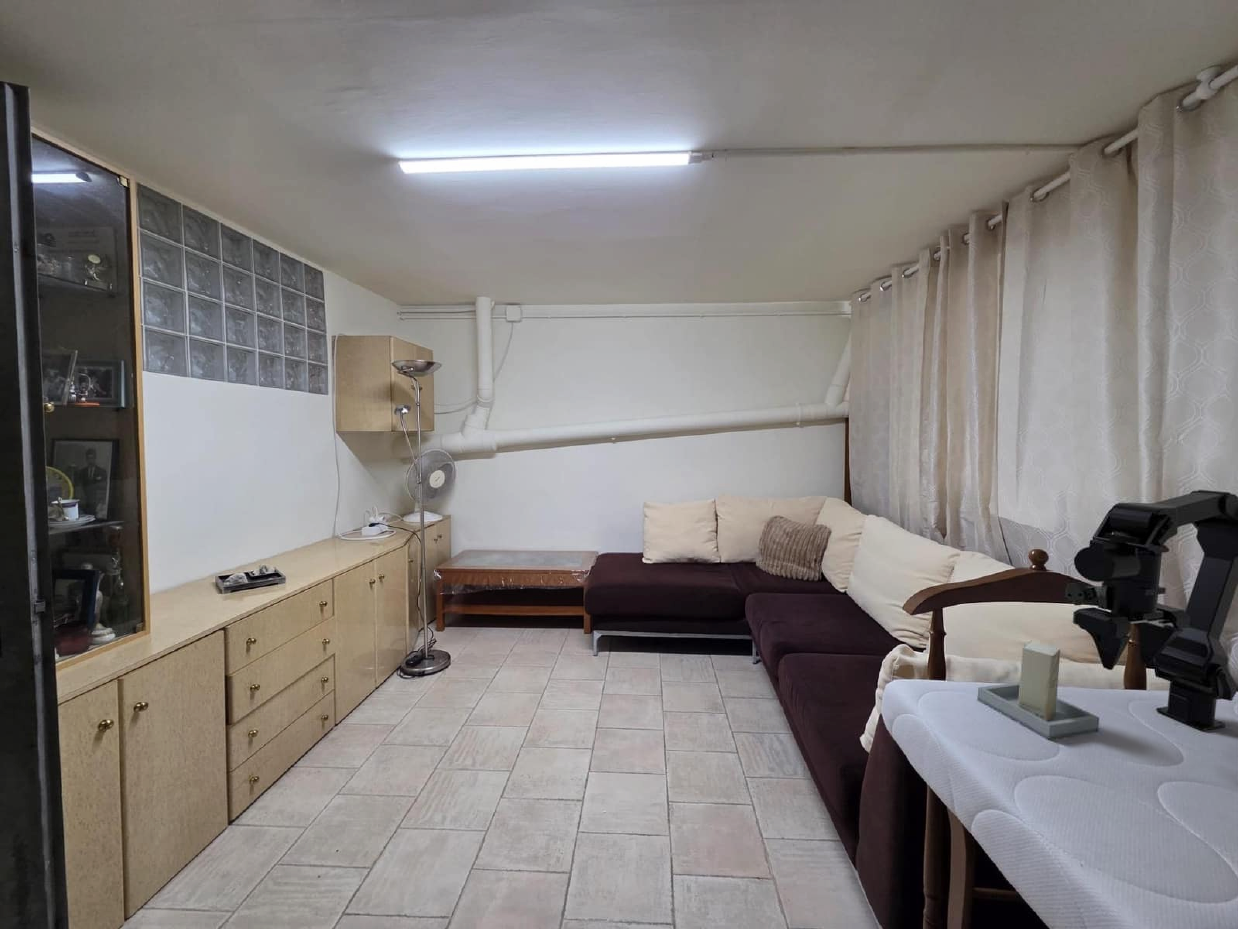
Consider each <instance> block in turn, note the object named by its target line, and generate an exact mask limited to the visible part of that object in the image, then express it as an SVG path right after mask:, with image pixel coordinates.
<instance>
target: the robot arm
mask: <svg viewBox="0 0 1238 929" xmlns="http://www.w3.org/2000/svg"><path fill="white" fill-rule="evenodd" d="M1190 524H1192V526H1193V527H1194V529H1196V530H1197V532H1196V535H1195V537H1196V540H1197V542H1198V544H1199V546H1200V548H1201V550H1202V552H1203V557H1202V560H1201V563H1200V566H1199V569H1198V571H1197V575H1196V577H1195V581H1194V583H1193V587H1192V589H1191V592H1190V596H1189V598H1188V601H1187V604H1186V606H1185V607H1186V608H1185V610H1184V609H1181V608H1177V607H1173V606H1169V605H1166V604H1162V603H1158V600H1159V595H1165V594H1166V590H1167V587H1164V586H1160V577H1161V570H1162V569H1161V568H1162V558H1163V554H1164V553H1168V552H1170V549H1169V547H1168V546H1167V545H1165V543H1166V542H1167V541H1168V540H1169V539H1171V538H1173V537H1175V536H1176V535H1178V533H1179V532H1178V528H1179V527H1182V526H1183V527H1184V526H1186V525H1190ZM1073 565H1074V568H1075V570H1076V571H1077V573H1078V574H1079V575H1080V576H1081V577H1083V578H1084V579H1085V580H1088V581H1090V582H1094V583H1101V585H1100V586H1099V585H1096V586H1095V585H1094V586H1087V585H1086V584H1085V583H1084V582H1071V583H1067V584H1066V588H1065V593H1064V596H1065V598H1067V599H1068V600H1069V601H1071V602H1072V603H1073V605H1074V606H1078V607H1079V606H1082V605H1097V607H1095V606H1094V607H1083V608H1079V609H1077V610H1075V611H1073V616H1072V617H1073V618H1072V624H1074V625H1077V626H1078V627H1079V628H1080V629H1081V630H1084V631H1086V632H1087V633H1088V634H1089V635H1090V636H1091V638H1092V640H1093V642H1094V644H1095V647H1096V649H1097V653H1098V656H1099V658H1100V662H1101V665H1102V667H1103V669H1106V670H1108V671H1112V670H1114V668H1115V666H1117V664H1118V662H1119V660H1120V658H1121V657H1122V654H1123V652H1124V651H1125V649H1126V647H1127V645H1128V643H1129V642H1130V640H1131V637H1132V636H1129V634H1130V632H1131V631H1132V624H1133V626H1134V627H1135V628H1136V629H1137V630H1138V647H1139V648H1138V649H1139V651H1138V652H1139V659H1140V662H1141V664H1142V663H1143V664H1144V665H1151V664H1152V663H1153V670H1154V675H1155V677H1156V678H1158V679H1163V680H1165V681H1168V682H1169V690H1168V696H1167V698H1168V699H1167V706H1162V707H1156V708H1155V711H1156V712H1158V713H1160V714H1162V715H1164V716H1167V717H1169V718H1172V719H1175V720H1176V721H1179V722H1181V723H1183V724H1185V725H1188V726H1189V727H1190V726H1191V727H1193V728H1195V729H1197V730H1199V731H1200V730H1201V731H1209V730H1214V729H1220V728H1225V727H1226V723H1225V722H1223V721H1220V720H1218V719H1216V710H1217V709H1216V708H1217V702H1218V700H1225V701H1231V702H1232V701H1233V699H1234V698H1235V695H1236V694H1237V690H1238V684H1237V682H1236V681H1235V679H1234V678H1233V676H1232V674H1231V673H1230V671H1229V670H1228V668H1227V666H1228V661H1229V657H1228V655H1227V653H1226V651H1225V649H1224V647H1223V645H1222V642H1221V641H1220V639H1221V635H1222V632H1223V629H1224V626H1225V624H1226V620H1227V618H1228V615H1229V612H1230V608H1231V606H1232V603H1233V600H1234V597H1235V594H1236V590H1237V588H1238V495H1236V494H1234V493H1231V492H1230V491H1229V492H1228V491H1220V490H1219V491H1217V490H1207V489H1198V490H1192V491H1191V492H1190V493H1187V494H1183V495H1179V496H1176V497H1171V498H1168V499H1165V500H1160V501H1157V502H1153V503H1146V502H1118V503H1116V504H1114V505H1112V507H1111V508H1110V509H1109V510H1108V512H1107V513H1106V514H1105V516H1104V517H1103V519H1102V521H1101V523H1100V524H1099V526H1098V527H1097V529H1096V531H1095V532H1094V534H1093V535H1092V539H1090V540H1089V546H1086V547H1083V548H1082V549H1080V550H1079V551H1078V552H1076V555H1075V556H1074V557H1073Z"/></svg>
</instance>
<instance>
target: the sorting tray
mask: <svg viewBox="0 0 1238 929" xmlns="http://www.w3.org/2000/svg"><path fill="white" fill-rule="evenodd" d="M1019 687H1020V681H1018V682H1011V683H1004V684H996V685H988V686H980V687H978V688H977V698H976V699H977V701H978V700H979V701H978V702H980V703H982V702H983V703H984V705H985V706H987V705H988V707H989V708H991V709H992V708H994V709H995V710H994V709H993V710H994V711H996V710H997V711H996V712H998V713H1000V712H1001V713H1002V714H1001V713H1000V714H1001V715H1003V714H1004V715H1003V716H1005V715H1006V716H1005V717H1007V716H1008V717H1009V718H1008V717H1007V718H1008V719H1010V718H1011V719H1010V720H1012V719H1014V720H1015V721H1014V720H1013V721H1014V722H1015V723H1017V722H1019V723H1020V724H1019V723H1018V724H1019V725H1021V724H1022V725H1021V726H1023V727H1024V728H1026V727H1027V728H1026V729H1029V730H1030V731H1032V732H1034V733H1035V732H1036V733H1035V734H1036V735H1039V736H1040V737H1042V736H1043V737H1042V738H1044V737H1045V738H1044V739H1046V740H1048V739H1050V740H1055V739H1061V738H1066V737H1074V736H1078V735H1079V736H1081V735H1084V734H1085V735H1086V734H1091V733H1098V732H1099V729H1100V728H1099V726H1100V717H1099V716H1097V715H1094V714H1093V713H1090V712H1088V711H1086V710H1084V709H1082V708H1080V707H1078V706H1076V705H1074V704H1071V703H1070V702H1068V701H1066V700H1064V699H1061V698H1059V697H1057V701H1056V712H1055V714H1054V715H1053V716H1052V717H1051V718H1050V719H1049V720H1048V722H1047V721H1045V720H1043V719H1041V718H1039V717H1037V716H1035V715H1033V714H1032V713H1030V712H1028V711H1026V710H1024V709H1022V708H1020V707H1018V701H1019ZM983 703H982V704H983Z"/></svg>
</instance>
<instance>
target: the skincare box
mask: <svg viewBox="0 0 1238 929" xmlns="http://www.w3.org/2000/svg"><path fill="white" fill-rule="evenodd" d="M1060 661H1061V648H1060V647H1058V646H1054V645H1050V644H1046V643H1042V642H1038V641H1035V640H1030V641H1029V642H1027V643H1026V644H1025V645H1024V646H1023V647H1022V651H1021V662H1020V675H1019V676H1020V677H1019V678H1020V680H1019V682H1020V687H1019V701H1018V707H1020V708H1022V709H1024V710H1026V711H1028V712H1030V713H1032V714H1033V715H1035V716H1037V717H1039V718H1041V719H1043V720H1045V721H1047V722H1048V720H1049V719H1050V718H1051V717H1052V716H1053V715H1054V714H1055V712H1056V701H1057V698H1058V688H1059V672H1060V670H1059V669H1060Z"/></svg>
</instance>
